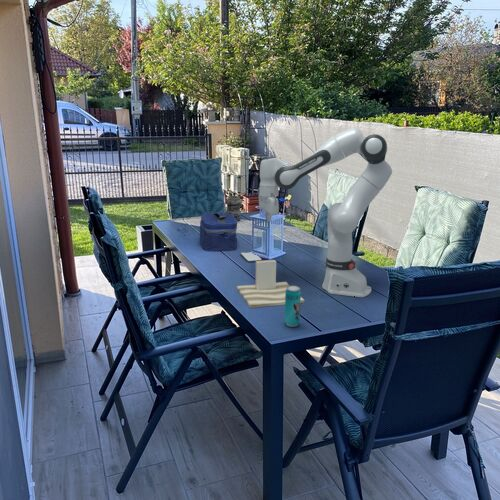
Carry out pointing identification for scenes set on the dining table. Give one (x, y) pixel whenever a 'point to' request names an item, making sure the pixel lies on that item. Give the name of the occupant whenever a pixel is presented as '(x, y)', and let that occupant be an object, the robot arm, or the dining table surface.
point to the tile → (265, 274)
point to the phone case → (250, 257)
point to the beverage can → (292, 306)
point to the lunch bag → (218, 232)
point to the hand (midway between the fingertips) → (268, 220)
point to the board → (264, 295)
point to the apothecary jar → (233, 206)
